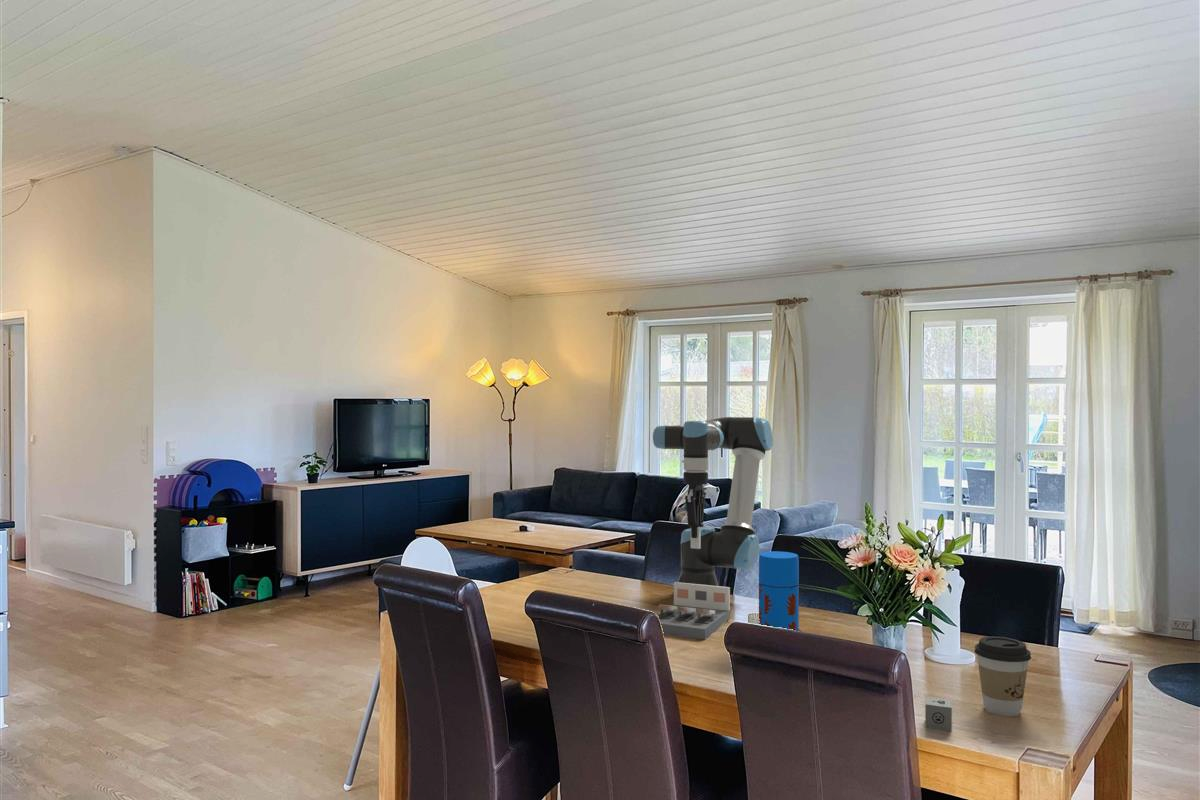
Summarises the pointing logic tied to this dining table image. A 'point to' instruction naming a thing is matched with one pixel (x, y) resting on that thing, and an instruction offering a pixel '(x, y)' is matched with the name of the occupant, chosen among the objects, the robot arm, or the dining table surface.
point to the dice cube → (938, 714)
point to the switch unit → (699, 599)
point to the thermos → (779, 589)
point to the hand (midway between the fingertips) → (695, 548)
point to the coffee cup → (1002, 674)
